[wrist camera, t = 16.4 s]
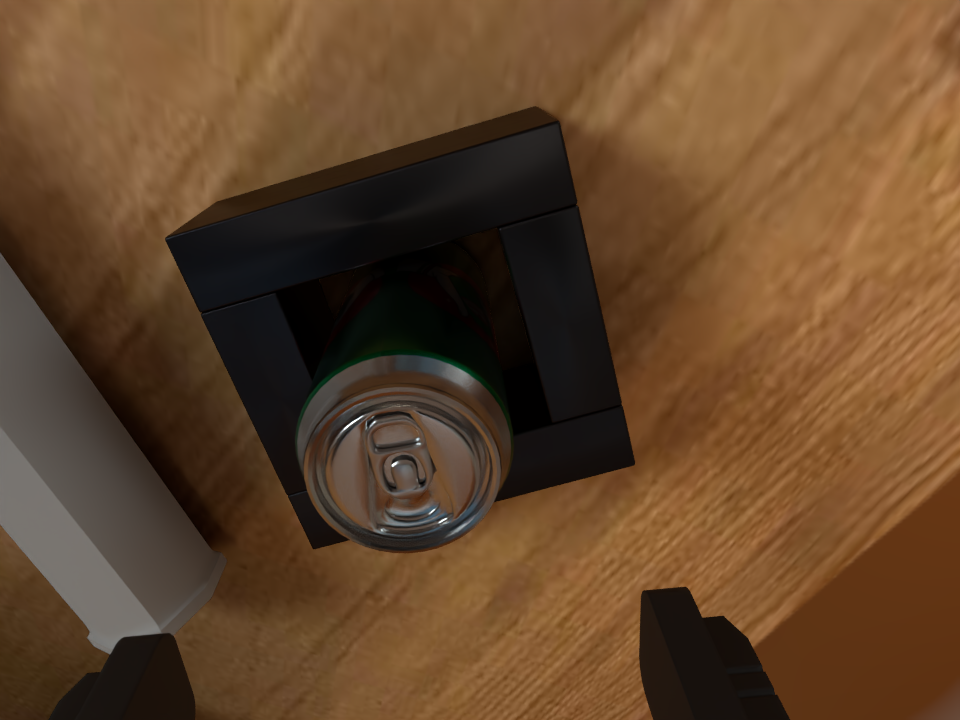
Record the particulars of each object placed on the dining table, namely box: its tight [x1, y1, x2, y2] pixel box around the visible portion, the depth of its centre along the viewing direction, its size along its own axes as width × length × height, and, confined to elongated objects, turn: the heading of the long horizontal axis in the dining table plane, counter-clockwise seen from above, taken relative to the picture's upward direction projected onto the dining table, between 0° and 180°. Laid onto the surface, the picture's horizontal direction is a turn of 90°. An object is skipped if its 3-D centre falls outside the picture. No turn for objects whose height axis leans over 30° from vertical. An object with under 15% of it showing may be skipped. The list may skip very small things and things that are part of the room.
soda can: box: [295, 241, 514, 553], centre depth 21 cm, size 5×5×12 cm
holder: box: [165, 106, 635, 549], centre depth 24 cm, size 12×12×5 cm
